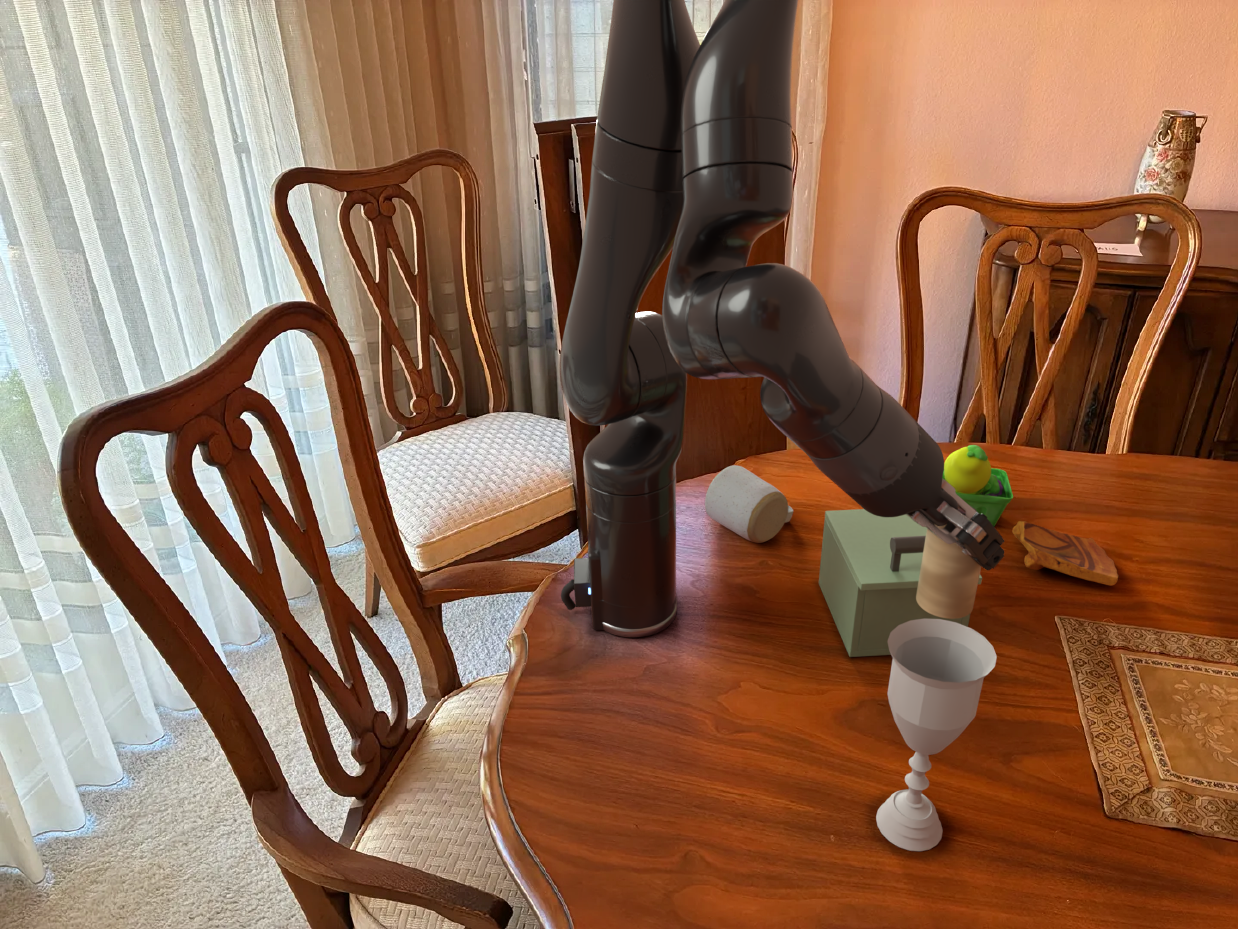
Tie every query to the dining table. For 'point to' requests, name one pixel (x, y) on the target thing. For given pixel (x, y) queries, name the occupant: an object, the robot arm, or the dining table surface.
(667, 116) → the robot arm
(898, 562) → the bread box lid
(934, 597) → the pepper mill
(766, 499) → the ceramic mug
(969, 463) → the fruit basket
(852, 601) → the bread box
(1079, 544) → the pottery fragment
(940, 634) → the chalice
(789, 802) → the dining table surface
